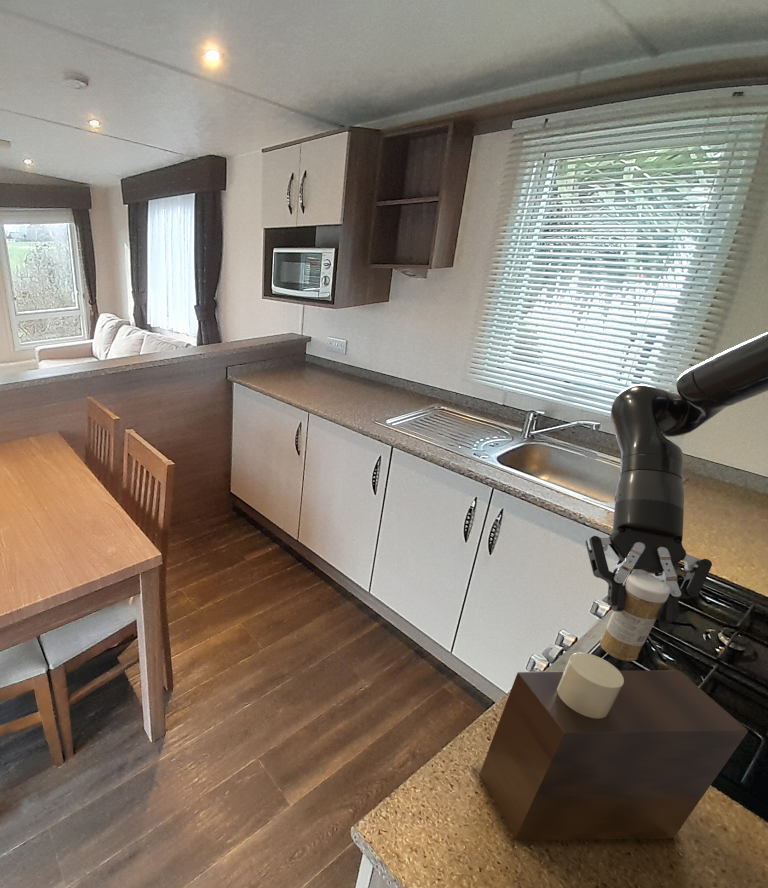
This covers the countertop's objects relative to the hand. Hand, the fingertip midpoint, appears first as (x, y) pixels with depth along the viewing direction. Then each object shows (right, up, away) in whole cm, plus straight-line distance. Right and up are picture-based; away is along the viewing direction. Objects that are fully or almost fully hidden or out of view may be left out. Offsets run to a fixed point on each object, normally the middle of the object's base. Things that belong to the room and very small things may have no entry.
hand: (641, 616), depth 69 cm
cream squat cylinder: (-19, -5, -13) cm, 24 cm away
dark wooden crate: (-14, -24, -4) cm, 28 cm away
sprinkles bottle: (+1, -7, +5) cm, 9 cm away
